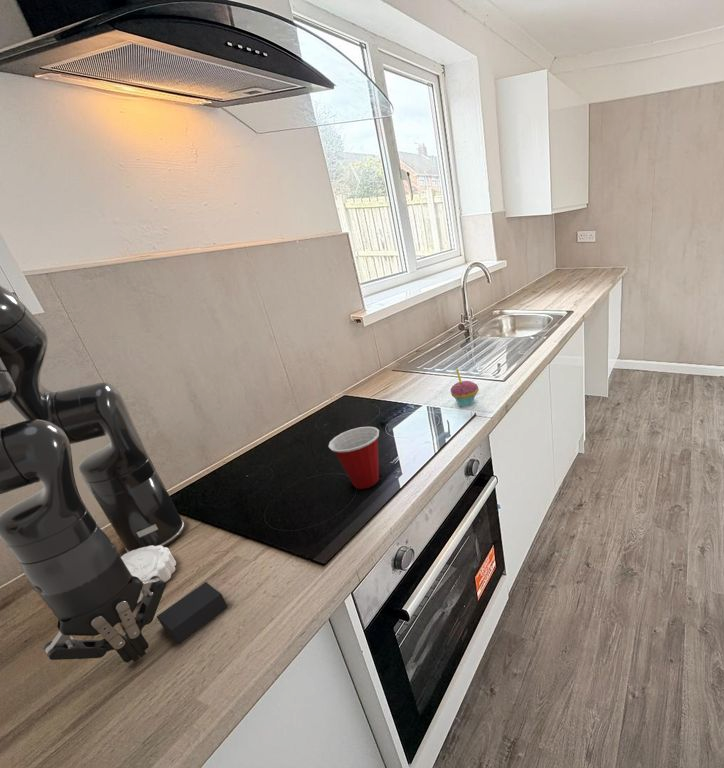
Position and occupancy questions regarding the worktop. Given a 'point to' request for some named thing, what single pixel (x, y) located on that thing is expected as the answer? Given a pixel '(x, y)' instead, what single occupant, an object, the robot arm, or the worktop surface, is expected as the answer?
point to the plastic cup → (358, 455)
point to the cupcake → (464, 391)
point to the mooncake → (150, 563)
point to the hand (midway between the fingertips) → (137, 655)
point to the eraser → (192, 612)
